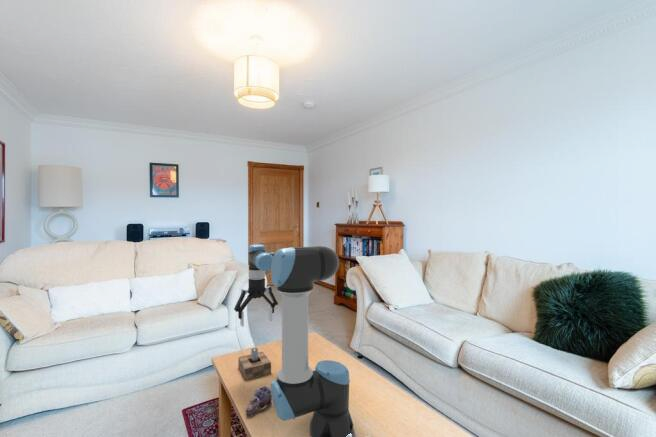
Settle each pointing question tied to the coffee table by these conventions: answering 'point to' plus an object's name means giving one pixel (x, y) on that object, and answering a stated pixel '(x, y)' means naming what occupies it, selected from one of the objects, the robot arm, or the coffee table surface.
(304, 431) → the coffee table surface
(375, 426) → the coffee table surface
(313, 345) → the coffee table surface
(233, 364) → the coffee table surface
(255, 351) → the pin
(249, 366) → the socket block
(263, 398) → the purple lumpy piece
